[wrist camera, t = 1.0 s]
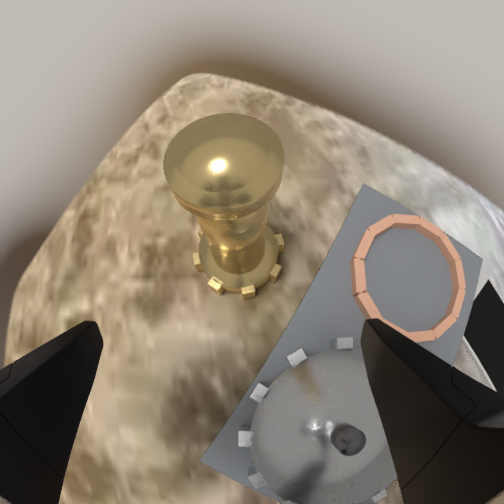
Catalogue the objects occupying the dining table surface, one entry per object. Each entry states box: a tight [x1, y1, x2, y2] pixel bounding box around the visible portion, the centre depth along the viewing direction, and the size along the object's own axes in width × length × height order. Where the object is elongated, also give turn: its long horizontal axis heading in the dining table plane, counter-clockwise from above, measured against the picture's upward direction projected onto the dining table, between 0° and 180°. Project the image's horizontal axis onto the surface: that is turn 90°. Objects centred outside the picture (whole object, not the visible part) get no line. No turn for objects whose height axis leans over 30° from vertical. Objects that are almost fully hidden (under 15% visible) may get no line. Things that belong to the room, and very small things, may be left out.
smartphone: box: [461, 266, 504, 395], centre depth 20 cm, size 7×16×1 cm, turn 36°
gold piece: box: [163, 113, 284, 299], centre depth 18 cm, size 7×7×13 cm
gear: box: [238, 337, 397, 504], centre depth 16 cm, size 13×13×4 cm
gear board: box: [199, 183, 483, 504], centre depth 20 cm, size 26×14×2 cm, turn 149°
